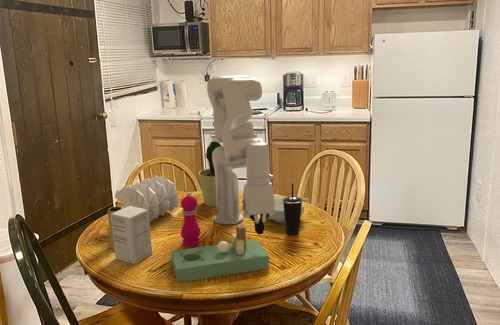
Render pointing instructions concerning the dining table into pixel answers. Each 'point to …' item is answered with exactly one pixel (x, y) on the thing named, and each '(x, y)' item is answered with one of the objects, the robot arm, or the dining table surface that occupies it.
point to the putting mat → (217, 261)
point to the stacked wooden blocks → (239, 239)
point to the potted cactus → (209, 177)
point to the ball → (223, 247)
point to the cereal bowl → (281, 211)
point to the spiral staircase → (150, 196)
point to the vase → (110, 211)
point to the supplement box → (131, 234)
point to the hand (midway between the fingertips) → (259, 232)
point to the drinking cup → (292, 214)
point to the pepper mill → (190, 222)
